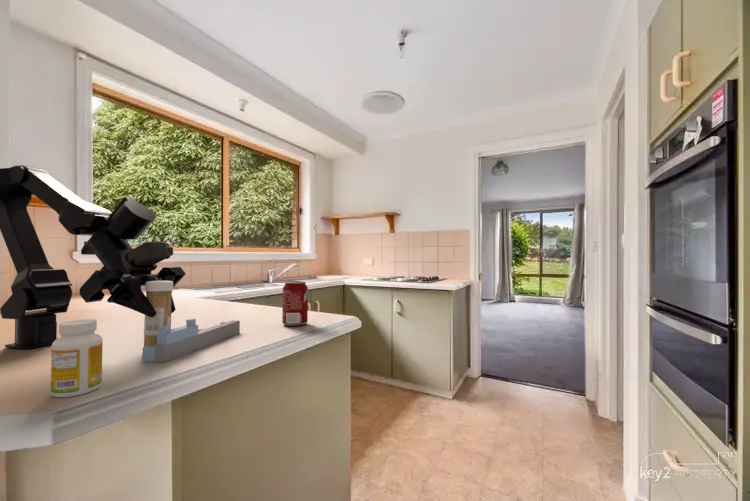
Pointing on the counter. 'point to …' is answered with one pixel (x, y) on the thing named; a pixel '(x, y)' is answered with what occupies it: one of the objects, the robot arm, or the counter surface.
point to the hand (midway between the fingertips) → (164, 313)
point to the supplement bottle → (76, 359)
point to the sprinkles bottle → (157, 309)
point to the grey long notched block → (186, 339)
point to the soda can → (295, 303)
